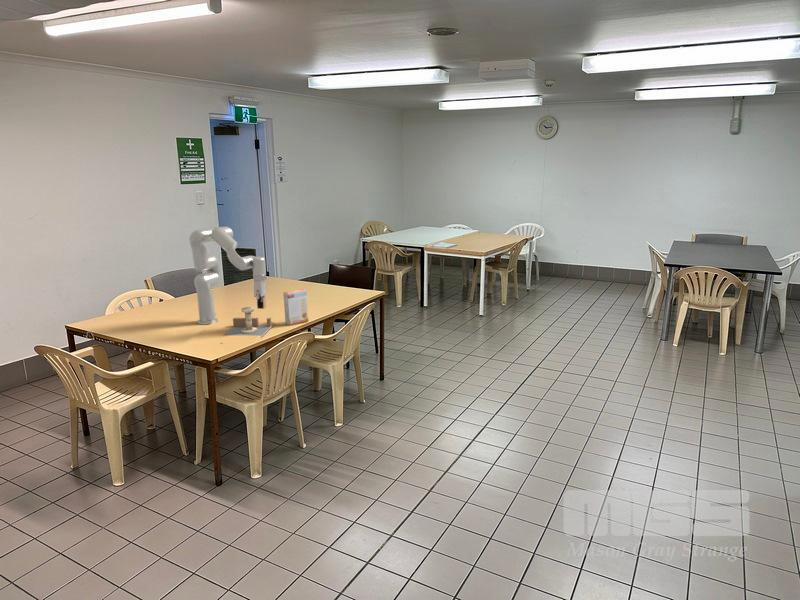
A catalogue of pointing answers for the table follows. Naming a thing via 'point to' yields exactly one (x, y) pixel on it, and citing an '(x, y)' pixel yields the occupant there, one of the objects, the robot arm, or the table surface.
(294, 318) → the cracker box
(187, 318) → the table surface
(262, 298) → the copper block
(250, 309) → the bobbin
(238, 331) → the grey board with ledge
